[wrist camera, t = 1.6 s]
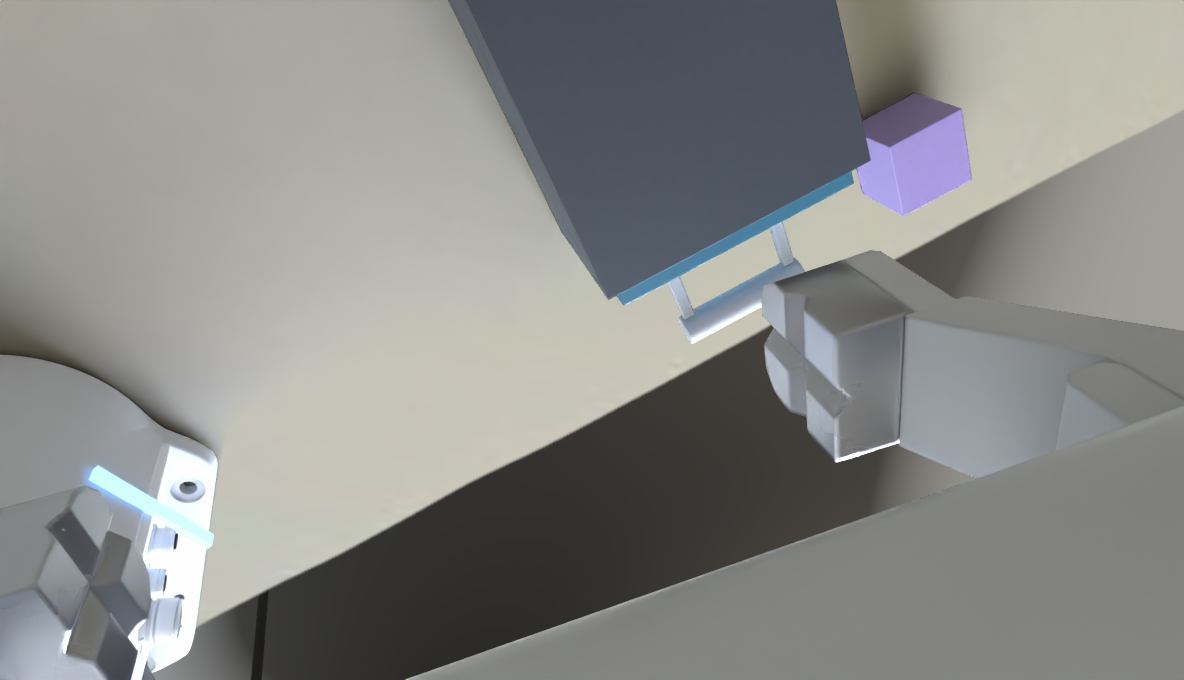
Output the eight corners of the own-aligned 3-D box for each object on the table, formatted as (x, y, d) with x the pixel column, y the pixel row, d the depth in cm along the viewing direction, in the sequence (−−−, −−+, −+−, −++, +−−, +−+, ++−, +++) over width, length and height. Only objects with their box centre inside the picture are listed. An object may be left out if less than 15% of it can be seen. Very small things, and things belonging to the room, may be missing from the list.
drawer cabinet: (781, 117, 44) (871, 161, 36) (562, 233, 43) (608, 300, 36) (699, -177, 36) (793, -196, 28) (429, -38, 35) (455, -21, 28)
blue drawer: (810, 233, 47) (877, 280, 41) (623, 332, 46) (664, 394, 41) (711, -117, 36) (782, -119, 30) (468, 8, 36) (495, 30, 30)
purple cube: (927, 160, 48) (972, 179, 44) (862, 194, 47) (903, 216, 44) (915, 92, 45) (962, 108, 42) (847, 128, 45) (889, 146, 42)
